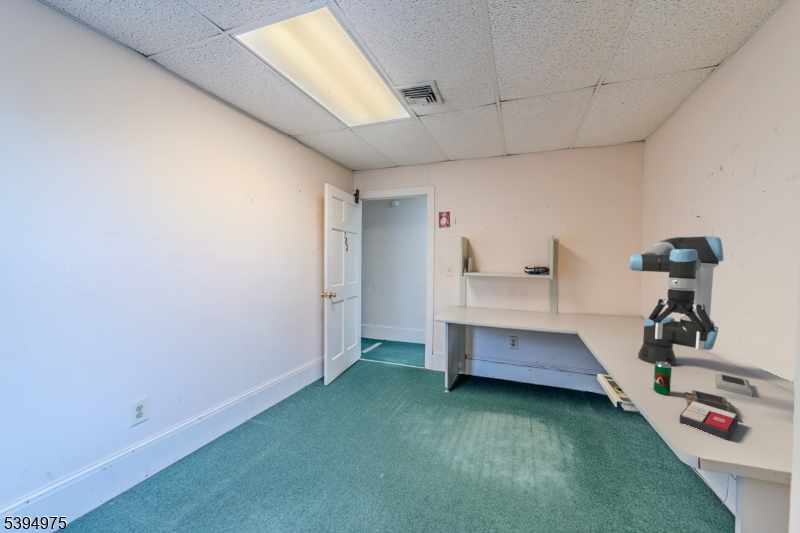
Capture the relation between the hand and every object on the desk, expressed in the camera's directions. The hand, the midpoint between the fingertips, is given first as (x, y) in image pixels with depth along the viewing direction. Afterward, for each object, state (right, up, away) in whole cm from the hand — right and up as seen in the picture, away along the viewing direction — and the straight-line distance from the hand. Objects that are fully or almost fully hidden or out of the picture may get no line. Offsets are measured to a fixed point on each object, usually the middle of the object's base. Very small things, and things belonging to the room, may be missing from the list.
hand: (677, 343), depth 113 cm
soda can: (-3, -21, +4) cm, 21 cm away
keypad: (+33, -22, +10) cm, 41 cm away
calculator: (-7, -22, -18) cm, 29 cm away
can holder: (+5, -21, -7) cm, 23 cm away
